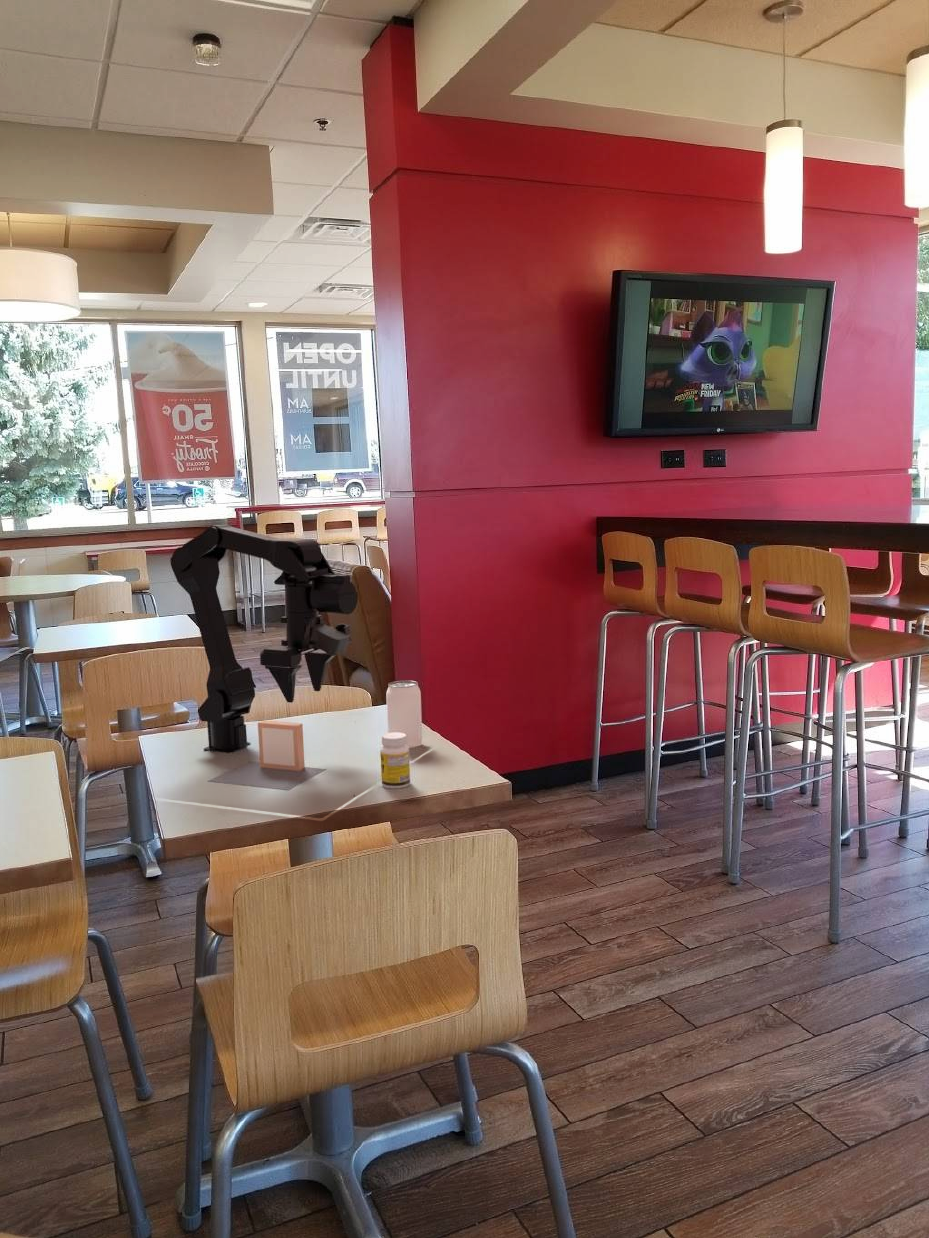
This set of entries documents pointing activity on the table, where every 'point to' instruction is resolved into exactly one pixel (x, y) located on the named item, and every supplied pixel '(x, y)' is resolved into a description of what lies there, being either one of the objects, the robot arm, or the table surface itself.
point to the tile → (281, 745)
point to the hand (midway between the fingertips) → (304, 696)
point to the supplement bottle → (395, 761)
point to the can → (405, 711)
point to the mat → (266, 776)
